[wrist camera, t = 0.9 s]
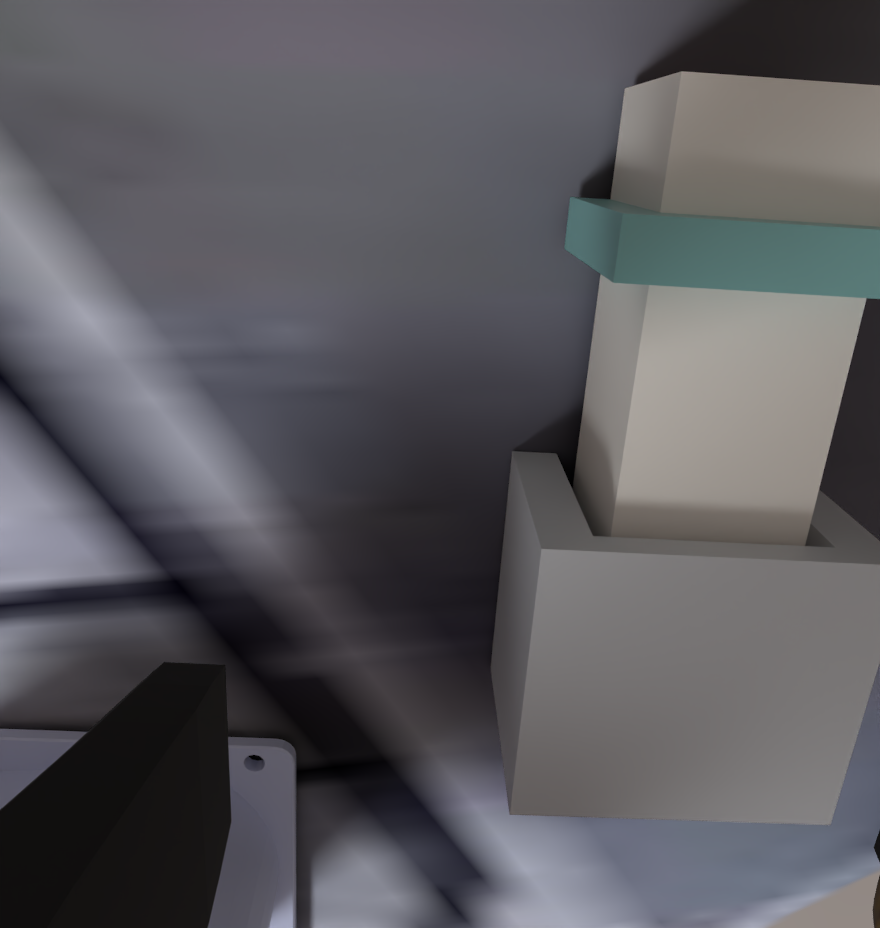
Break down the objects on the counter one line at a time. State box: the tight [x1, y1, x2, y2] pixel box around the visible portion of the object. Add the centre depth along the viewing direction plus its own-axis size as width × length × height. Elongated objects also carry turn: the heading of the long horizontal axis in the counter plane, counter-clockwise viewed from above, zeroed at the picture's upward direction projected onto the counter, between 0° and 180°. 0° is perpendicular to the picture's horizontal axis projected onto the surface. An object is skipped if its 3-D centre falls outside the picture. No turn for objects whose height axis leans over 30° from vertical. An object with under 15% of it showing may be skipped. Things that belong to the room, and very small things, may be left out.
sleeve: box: [490, 451, 880, 825], centre depth 17 cm, size 6×6×5 cm
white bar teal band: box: [564, 71, 880, 546], centre depth 15 cm, size 5×12×4 cm, turn 176°
